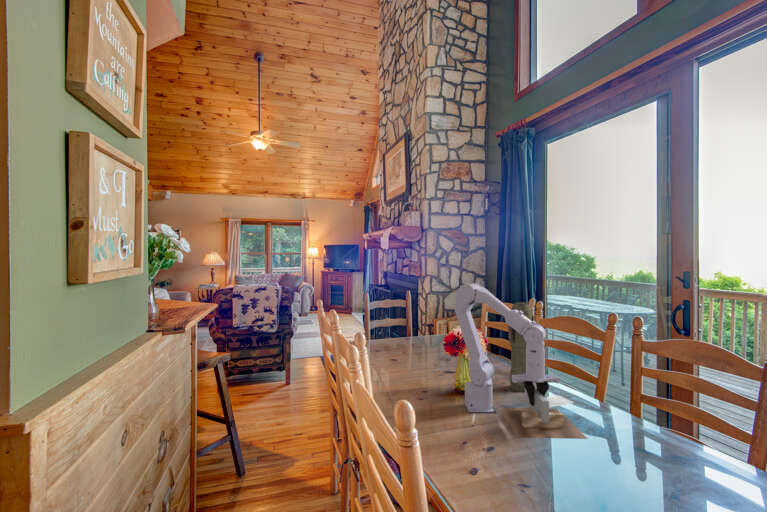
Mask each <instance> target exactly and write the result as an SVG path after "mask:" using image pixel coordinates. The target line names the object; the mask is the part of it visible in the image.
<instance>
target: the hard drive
mask: <svg viewBox="0 0 767 512" xmlns="http://www.w3.org/2000/svg"><path fill="white" fill-rule="evenodd" d="M545 398H546V399H547V400H548V401H549V408H553V407H559V406H565V405H571V404H574V401H572V400H570V399H568V398H565V397H563V396H561V395H553V396H547V397H545Z"/></svg>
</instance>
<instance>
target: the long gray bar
mask: <svg viewBox="0 0 767 512" xmlns="http://www.w3.org/2000/svg"><path fill="white" fill-rule="evenodd" d="M524 403H525V404H526V405H527V406H528V407H529V408H531V410H532V411H533V412H537V414H538V417H542V422H543V423H549V409H550V407H549V401H548V400H547V399H546V397H545V396H543V395H542V394H541V393H540V392H539V391H538V390H537V387H535V392H534V406H532V405H531V404H530V402H529V397H528V394H527V391H526V389H525V392H524Z"/></svg>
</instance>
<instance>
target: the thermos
mask: <svg viewBox="0 0 767 512" xmlns="http://www.w3.org/2000/svg"><path fill="white" fill-rule="evenodd" d="M510 310H518V311H520V310H521V311H522V312H523V315H524V316H526V317H527V318H528V319H530V320H531V321H535V316H534V314H533V313H532V308H531V305H530V304H529V303H528V302H523V301H516V302H514V303H512V306H511V309H510ZM507 329H508V330H507V331H508V332H507V334H508V335H507V336H508V337H507V338H508V341H509V346H510V354H511V355H510V356H511V357H510V361H511V362H510V365H511V366H510V371H509V384H510V388H511V389H512V390H513V392H514V391H515V392H514V393H525V386H524V384H523V382H517V383H514V382H513V381H512V375H519V374H526V341H525V339H524V336H523V335H521V334H520V333H518V332H517V331H516V330H514V329H513V328H512V327H511V326H509V325H508V324H507ZM532 383H533V385H534V386H535V384H534V383H535V382H532ZM511 389H510V390H511ZM512 390H511V391H512Z"/></svg>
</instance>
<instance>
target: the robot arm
mask: <svg viewBox="0 0 767 512" xmlns="http://www.w3.org/2000/svg"><path fill="white" fill-rule="evenodd" d="M455 296H456V297H455V305H454V312H455V315H456V320H457V322H458V325H459V328H460V331H461V334H462V337H463V340H464V344H465V347H466V351H467V353H468V354H467V355H468V357H469V358H468V363H467V364H468V365H467V366H468V369H469V371H468V377H469V380H470V381H467V382H465V383H464V404H465V407H466V409H467V411H468V412H469V413H497V411H496V410H495V408H494V405H493V403H494V401H493V400H494V398H493V395H494V393H493V392H494V391H493V388H494V387H493V385H494V383H493V379H492V378H493V376H494V375H495V372H496V371H495V366H494V365H493V364H492V362H490V359H489V357H488V356H487V355H486V353H484V349H483V346H482V343H481V339H480V338H479V334H478V330H477V327H476V324H475V321H474V318H473V315H472V312H471V310H472V308H473V307H474V306H475V304H476V303H478V304H479V303H480V304H485V305H487V306H488V307H490V308H491V309H493V310H494V311H495V312H497V313H498V314H500V315H501V316H502V317H503V318H504V321H505V323H506V324H507V326H508V325H509V326H511V327H512V328H513V329H514V330H516V331H517V332H518V333H520V334H521V335H523V336H524V339H525V341H526V374H519V375H512V381H513V382H514V383H517V382H523V384H524V386H525V389H526V391H527V394H528V397H529V402H530V404H531V405H532V406H534V392H535V388H536V389H537V390H538V391H539V392H540V393H541V394H542V395H543V396H544V397H545V396H546V394H547V392H548V390H549V389H550V384H549V383H552V384H553V383H554V384H555V383H556V384H560V377H559V376H558V375H554V374H551V375H550V374H546V350H545V349H546V347H545V345H546V344H545V341H544V340H545V339H546V336H547V333H546V329H545V328H544V327H543V326H542V324H539V323H536V321H535V320H534V321H531V320H530V319H528V318H527V317H526V316H524V315H523V312H522V311H521V310H520V311H518V310H511V309H510V308H509V307H508V306H507V305H506V304H505V303H503V302H502V301H501V300H500V299H499V298H497V297H496V296H495V295H494V294H493V293H492V292H490V291H489V290H488V289H487V288H485V287H484V286H482V285H481V284H479V283H477V282H472V283H468V284H465V283H464V284H462V285H461V286H459V288H458V289H457V291H456V292H455ZM532 382H534V383H535V384H534V385H533V383H532Z"/></svg>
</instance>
